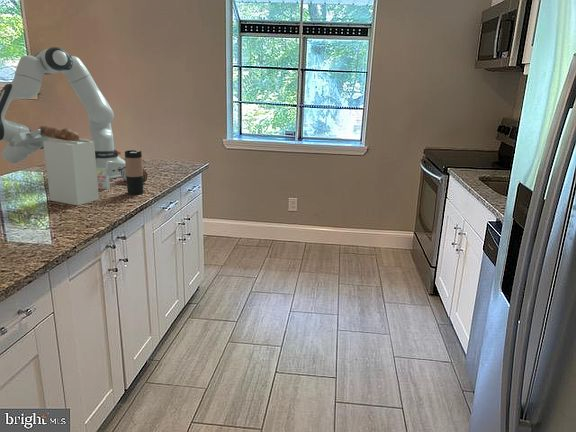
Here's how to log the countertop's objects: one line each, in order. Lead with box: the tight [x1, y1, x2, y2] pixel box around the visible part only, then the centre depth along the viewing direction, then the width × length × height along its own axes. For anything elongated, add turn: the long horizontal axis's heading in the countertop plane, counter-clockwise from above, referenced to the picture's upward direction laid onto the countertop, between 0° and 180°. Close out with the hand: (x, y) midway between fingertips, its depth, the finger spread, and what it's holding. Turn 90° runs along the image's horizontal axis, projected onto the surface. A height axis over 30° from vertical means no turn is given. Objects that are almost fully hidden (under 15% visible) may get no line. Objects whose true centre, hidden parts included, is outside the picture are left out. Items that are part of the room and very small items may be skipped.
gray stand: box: [43, 138, 100, 206], centre depth 194 cm, size 16×12×27 cm
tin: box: [121, 167, 148, 184], centre depth 232 cm, size 15×3×8 cm, turn 71°
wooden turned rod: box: [38, 125, 80, 141], centre depth 191 cm, size 20×5×5 cm, turn 68°
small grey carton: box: [96, 168, 111, 190], centre depth 218 cm, size 4×7×10 cm, turn 92°
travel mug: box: [124, 149, 144, 196], centre depth 211 cm, size 8×8×20 cm
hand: (46, 129), depth 194 cm, fingers closed on wooden turned rod, 4 cm apart
